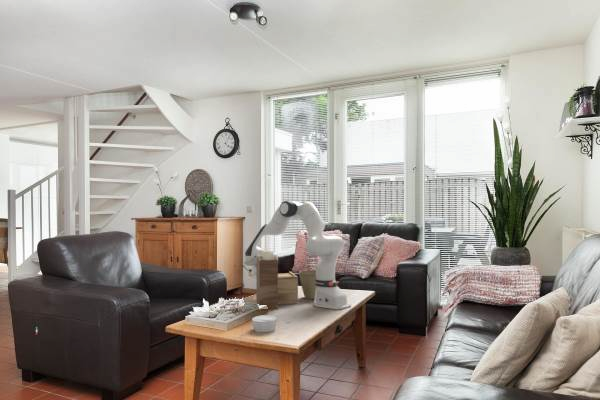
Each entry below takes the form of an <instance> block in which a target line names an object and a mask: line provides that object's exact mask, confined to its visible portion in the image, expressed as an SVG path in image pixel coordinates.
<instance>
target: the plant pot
mask: <svg viewBox="0 0 600 400" xmlns="http://www.w3.org/2000/svg"><path fill="white" fill-rule="evenodd" d="M298 273H299V281H300V285H301V286H300V287H301V289H302V293H303V296H304V298H305V299H308V300H314V297H315V290H316V285H315V279H316V269H315V270H314V269H313V270H312V269H308V270H307V269H305V270H300V271H299V272H298Z"/></svg>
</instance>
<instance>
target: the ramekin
mask: <svg viewBox="0 0 600 400" xmlns="http://www.w3.org/2000/svg"><path fill="white" fill-rule="evenodd" d="M251 322H252V327H253V330H254V331H255V332H257V333H271V332H273V331H274V330H275V329H276V325H277V324H276V323H277V317H276V316H275V315H268V314H262V315H256V316H254V317H252V318H251Z"/></svg>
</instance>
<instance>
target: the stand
mask: <svg viewBox="0 0 600 400" xmlns="http://www.w3.org/2000/svg"><path fill="white" fill-rule="evenodd" d="M278 262H279V259H278V260H277V259H276V258H275V257H274V260H262V256H261V257H257V278H256V305H257V304H259V305H267V307H268V310H267V311H269V310H270V311H273V310H279V308H278V307H279V305H286V304H298V303H299V277H298V276H297V275H296V274H294V273H293V272H292V271H288V272H287V273H286V272H285V273H279V271H278V270H279V267H278V266H279V265H278Z"/></svg>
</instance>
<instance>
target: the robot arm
mask: <svg viewBox="0 0 600 400" xmlns="http://www.w3.org/2000/svg"><path fill="white" fill-rule="evenodd" d="M292 219H293V220H299V221H302V222H303V224H304V226H305V229H306V231H307V233H308V234H307V235H308V239H307V241H306V243H305V251H307V253H308V255H311V256H316V257H317V256H319V257H320V256H321V258H320V261H319V262H317V264H316V266H315V270H316V279H315V285H316V290H315V297H314V299H313V302H312V304H313V307H319V308H324V309H331V310H343V309H347V308H350V307H352V304H351V303H349V302H348V298H347V295H346V293H345V292H344V291H343V290H342V289H341V288H340V287H339V286H338V283H339V282H340V281H337V280H336V266H337V265H336V264H337V262H338V258H339V256H340V254H341V253H342V252H343V250H344V249H345V242H344V240H343V237H341V236H338V235H325V234H324V233H323V231H324V230H325V228H326V223H325V221H324V219H323V217H322V216H321V213H320V212H319V210H318V209H317V207H316V205H315V204H314V203H312V202H311V201H305V202H303V203H302V202H299V201H296V200H295V201H294V200H283V201H282V202H281V203H280V205H279V206H278V207H277V209H276V210H275V211H274V213H273V215H272V217H271V219H270V221H269V222H268V223H266V224H263V225H262V227H261V228H260V229H259V231H258V232H257V234H256V235H255V237H254V239H253V240H252V241H251V243H250V244H249V245H248V246H247V248H246V250H244V251H245V253H244V256H245V257H244V262H243V265H245V266H246V267H247V266H249V267H250V266H251V274H252V277H254V278H256V279H257V257H261V256H260V249H263V248H261V247H259V246H258V245H259V243H260V242H261V240H262V239H263V237H265V236H280V235H282V234H284V232H285V231H286V229H287V228H288V226H289V224H290V221H291V220H292ZM274 257H275V258H276V259H277V260H278V261H279V256H278V255H276V254H274Z"/></svg>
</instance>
